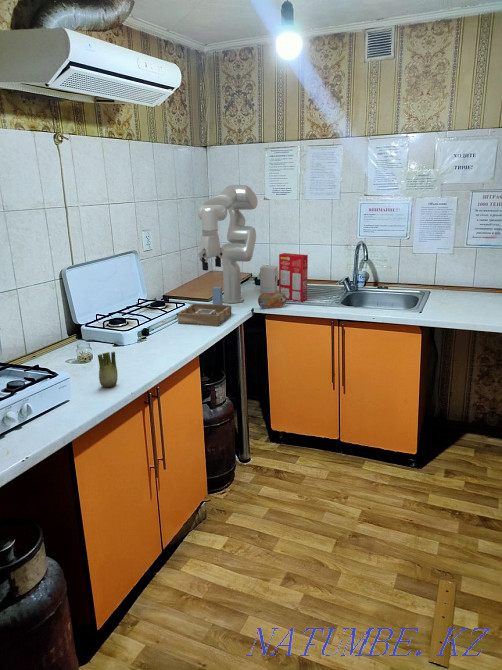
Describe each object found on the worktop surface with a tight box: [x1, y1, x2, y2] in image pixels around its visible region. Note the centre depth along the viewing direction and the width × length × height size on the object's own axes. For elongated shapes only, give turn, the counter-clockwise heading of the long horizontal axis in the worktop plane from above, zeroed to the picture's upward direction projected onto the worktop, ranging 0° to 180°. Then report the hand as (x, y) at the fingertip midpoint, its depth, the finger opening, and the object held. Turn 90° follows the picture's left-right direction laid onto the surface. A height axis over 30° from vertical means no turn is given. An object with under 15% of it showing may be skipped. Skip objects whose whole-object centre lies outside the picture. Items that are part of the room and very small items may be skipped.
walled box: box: [177, 303, 232, 327], centre depth 251 cm, size 20×20×5 cm
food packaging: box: [278, 252, 309, 303], centre depth 284 cm, size 15×5×25 cm, turn 56°
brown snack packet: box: [257, 291, 287, 310], centre depth 270 cm, size 15×3×8 cm, turn 105°
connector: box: [211, 286, 224, 305], centre depth 266 cm, size 4×4×12 cm
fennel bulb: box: [97, 351, 118, 388], centre depth 172 cm, size 6×5×12 cm
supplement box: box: [259, 264, 278, 294], centre depth 305 cm, size 9×9×15 cm
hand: (211, 268), depth 254 cm, fingers open, 9 cm apart
